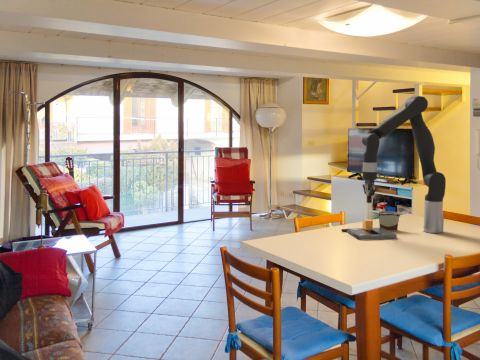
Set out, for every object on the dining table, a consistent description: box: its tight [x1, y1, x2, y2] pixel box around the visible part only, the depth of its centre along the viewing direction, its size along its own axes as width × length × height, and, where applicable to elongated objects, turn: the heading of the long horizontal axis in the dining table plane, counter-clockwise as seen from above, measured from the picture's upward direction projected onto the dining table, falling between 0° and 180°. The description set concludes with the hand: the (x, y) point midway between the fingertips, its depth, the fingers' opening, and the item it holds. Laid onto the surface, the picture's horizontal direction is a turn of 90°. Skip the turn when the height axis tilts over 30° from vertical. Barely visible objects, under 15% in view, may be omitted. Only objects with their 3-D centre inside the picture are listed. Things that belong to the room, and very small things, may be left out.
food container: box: [377, 210, 401, 232], centre depth 266 cm, size 12×6×10 cm, turn 84°
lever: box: [362, 218, 374, 233], centre depth 256 cm, size 4×4×7 cm
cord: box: [346, 230, 359, 240], centre depth 250 cm, size 17×1×1 cm, turn 7°
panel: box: [346, 227, 398, 241], centre depth 252 cm, size 20×18×2 cm
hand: (368, 202), depth 254 cm, fingers closed
